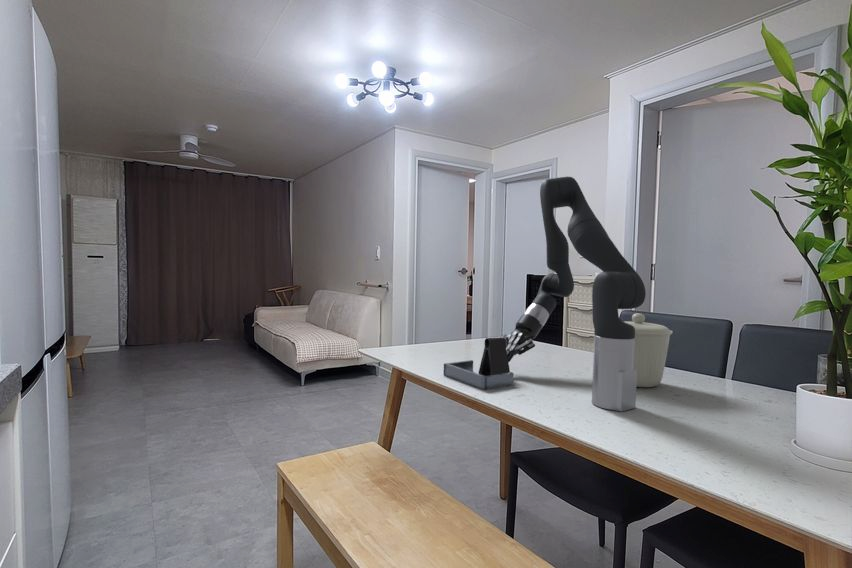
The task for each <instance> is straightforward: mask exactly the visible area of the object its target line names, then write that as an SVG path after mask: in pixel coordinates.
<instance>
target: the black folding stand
mask: <svg viewBox="0 0 852 568" xmlns="http://www.w3.org/2000/svg"><path fill="white" fill-rule="evenodd" d="M483 347H484V348H483V352H482V353H483V354H482V357H481V361H480V364H479V368H478V374H480V375H483V376H490V375H496V374H502V373H509V372H511V370H510V362H508V357H507V351H506V339H505V338H503V336H501V337H486V338H485V339H484V346H483Z"/></svg>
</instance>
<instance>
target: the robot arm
mask: <svg viewBox="0 0 852 568" xmlns="http://www.w3.org/2000/svg"><path fill="white" fill-rule="evenodd" d="M539 197H540V198H539V199H540V207H541V215H542V221H543V228H544V234H545V241H546V243H545V244H546V266H547V268H548V269H549V270H551V271H552V272H554V273H548V274H546V275H544V277H543V278H542V279H541V283H540V285H539V289H538V292H537V294H536V297H534V299H533V300H532V302H531V303H530V304H529V306H528V307H527V308H526V309H525V310H524V312H523V313H522V315H521V316H520V317H519V319H518V320H517V321H516V323H515V328H514V330H512V331H511V332H510V334H508V335H507V334H505V333H504V334H503V335H502V337H503V338H505V339H506V351H507V357H508V363H510V362H511V360H512V359H513V358H514V357H515V356H517V355H519V356H521V355H522V354H524V353H526V352H528V351H530V350H531V349H534V348H535V347H536V344H535V343H534V341H533V340H534V339H535V338H537V336H538V334H539V333H540V332H541V330H542V329H543V327H544V326H545V324H546V323H547V321H548V319H549V317H550V316H551V314H552V313H553V311H555V310H554V309H556V307H557V301H556V299H555V297H554V296H557V297H561V298H568V297H569V296H571V294H572V293H573V291H574V288H575V281H574V276H573V274H572V271H571V266H570V263H569V261H570V260H569V259H570V257H569V256H570V255H569V253H570V248H569V247H570V246H569V242H568V239H567V237H568V238H569V241H570V242H571V244H572V246H573V248H574V250H575V251H576V252H577V253H578V254H579V255H580V256H581V257H582V258H583V259H585V260H586V261H587V262H589V263H590V264H592V265H593V266H595V267H596V268H598V269H600V270H601V271H602V272H599V273H598V274H597V275H596V276H595V278H594V281H593V283H592V291H591V293H592V294H591V295H592V296H591V297H592V298H591V299H592V300H591V301H592V302H591V304H592V308H591V309H592V324H593V328H594V340H593V358H592V359H593V362H592V383H591V384H592V385H591V386H592V387H591V389H592V390H591V403H592V404H593V405H594V406H596V407H598V408H603V409H605V410H612V411H618V412H626V411H628V410H632V409H636V407H637V388H638V387H637V370H636V369H633V368H634V346H635V328H634V326H632V325H630V324H627V323H625V322H623V321H624V320H622V319H621V318H620V316H619V310H632V309H638V308H639V307H641V306H642V305H643V303H644V302H645V300H646V295H647V293H646V287H645V284H644V281H643V279H642V277H641V276H640V274H639V273H637V271H636V270H635V269H634V268H633V266H632V265H631V264H630V263H629V262H628V261H627V259H626V258H625V257H624V256H623V255H622V253H621V252H620V250H619V249H618V248H617V246H616V244H615V243H614V242H613V241H612V239H611V238H610V236H609V234H608V232H607V231H606V229H605V228H604V226H603V225H602V223H601V222H600V220H599V219H598V218H597V216H596V215H595V213H594V211H593V209H592V208H591V207H590V205H589V203H588V201H587V199H586V197H585V195H584V194H583V190H582V189H581V186H580V185H579V183H578V182H577V179H575V177H572V176H560V177H553V178H547V179H544V180H543V181H542V182H541V185H540V188H539ZM565 207H568V208H570V209H571V210H572V215H571V217H570V218H569V222H568V225H567V230H566V232H567V237H566V235H565V234H564V232H563V231H562V229H561V227H560V226H559V224H558V223H557V221H556V219H555V212H554V209H558V208H565ZM552 295H553V296H552Z"/></svg>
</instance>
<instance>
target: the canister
mask: <svg viewBox="0 0 852 568" xmlns="http://www.w3.org/2000/svg"><path fill="white" fill-rule="evenodd" d="M622 321H623V322H625V323H627V324H630V325H632V326H634V328H635V346H634V368H633V369H636V370H637V387H636V388H653V387H654V388H655V387H656V386H659V384H661V382H662V380H663V377H664V372H665V368H666V367H665V366H666V362H667V357H668V350H669V345H670V344H669V343H670V337H671V335H672V334H673V330H670V328H668V327H667V326H665V325H662V324H658V323H650V322H645V321H646V317H645V315H644V314H643V313H641V312H640V313H637V312H636V313H634V314H632V316H631V321H624V320H622Z"/></svg>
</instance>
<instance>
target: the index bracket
mask: <svg viewBox="0 0 852 568" xmlns="http://www.w3.org/2000/svg"><path fill="white" fill-rule="evenodd" d="M472 371H473V372H472ZM514 374H515V373H514V372H511V371H510V372H509V373H502V374H496V375H490V376H483V375H480V374H479V373H476V372H474V360H472V359H469V360H463V361H461V360H460V361H455V362H446V363H443V376H445V377H448V378H451V379H453V378H454V379H453V380H456V379H457V380H456V381H459V382H462V383H464V384H466V385H469V386H472V387H474V386H475V388H478V389H480V390H483V391H487V390H488V391H489V390H492V389H493V390H494V389H498V388H503V387H504V386H505V387H509V386H508V385H510V386H513V385H514V377H515V376H514Z"/></svg>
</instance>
